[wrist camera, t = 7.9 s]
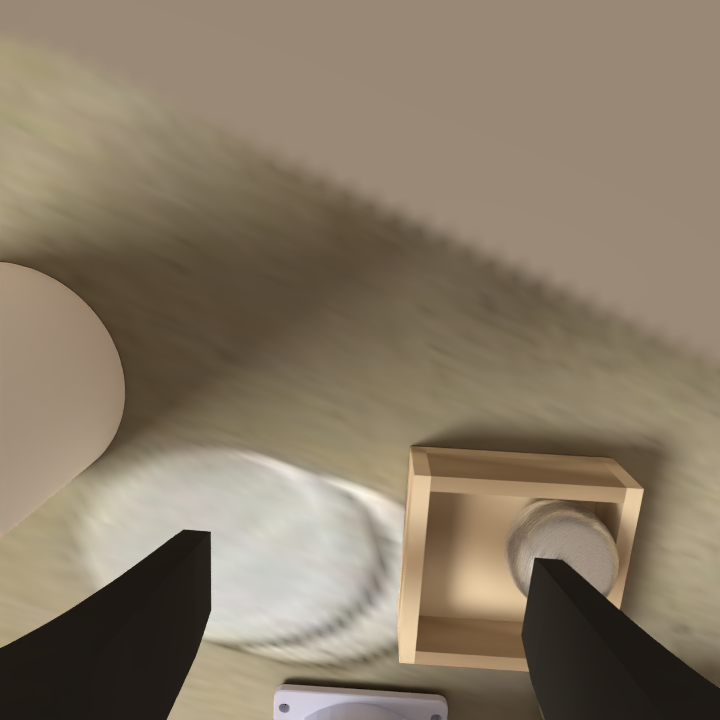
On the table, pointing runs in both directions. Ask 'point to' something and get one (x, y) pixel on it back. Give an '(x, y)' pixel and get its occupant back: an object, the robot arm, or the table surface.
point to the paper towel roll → (51, 390)
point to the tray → (489, 546)
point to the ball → (561, 543)
